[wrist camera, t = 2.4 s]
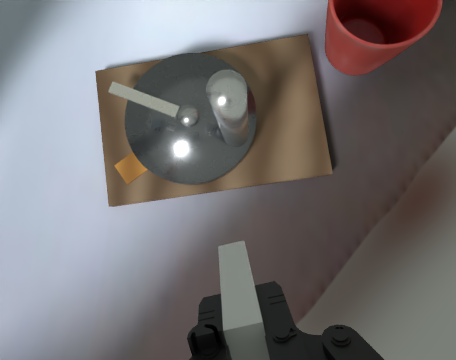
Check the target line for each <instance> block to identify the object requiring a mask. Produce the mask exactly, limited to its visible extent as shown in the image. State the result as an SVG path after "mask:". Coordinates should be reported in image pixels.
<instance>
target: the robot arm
mask: <svg viewBox="0 0 456 360" xmlns="http://www.w3.org/2000/svg"><path fill="white" fill-rule="evenodd" d="M218 248H219V266H220V284H221V294H218V295H213V296H209V297H204V298H203V299H202V301H201V303H200V304H199V313H198V314H199V315H198V325H197V326H195V327H194V328H192V330H191V331H190V332H189V334H188V337H187V340H188V343H189V347H190V350H191V353H192V357H191V358H190V359H189V360H384V359H383V358H382V357H381V356H380V355H379V354H378V353H377V352H376V351H375V350H374V349H373V348H372V347H371V346H370V345H369V344H368V343H367V342H366V341H365V340H364V339H363V338H362V337H361V336H360V335H359V334H358V333H357V332H356V331H355V330H353V329H352V328H351V327H348V326H345V325H334V326H330V327H328V328H327V329H325V330H324V332H323V334H322V335H311V334H307V333H304V332H302V331H300V330H299V329H298V328H297V327H296V326H295V324H294V321H293V318H292V316H291V313H290V310H289V307H288V305H287V302H286V299H285V296H284V294H283V291H282V288H281V286H280V285H278V284H277V283H276V282H275V281H273V282H269V283H264V284H260V285H255V286H254V281H253V277H252V273H251V268H250V264H249V260H248V255H247V251H246V246H245V242H244V241H240V242H235V243H231V244H226V245H222V246H218Z"/></svg>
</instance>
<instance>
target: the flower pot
mask: <svg viewBox="0 0 456 360" xmlns="http://www.w3.org/2000/svg"><path fill="white" fill-rule="evenodd" d="M442 3H443V0H328V7H327V19H326V33H325V52H326V56H327V58H328V60H329V62H330V63H331V64H332V65H333V66H334V67H335V68H336V69H338V70H339V71H340V72H342V73H345V74H349V75H363V74H366V73H369V72H371V71H373V70H375V69H376V68H378V67H380V66H381V65H383V64H384V63H386V62H388V61H389V60H391V59H392V58H394V57H395V56H397V55H398V54H400V53H401V52H403V51H404V50H405V49H407V48H408V47H410V46H411V45H413V44H414V43H415V42H417V41H418V40H419V39H421V38H422V37H423V36H424V35H426V34H427V33H428V32H429V31H430V30H431V28H432V27H433V26H434V24H435V23H436V21H437V19H438V17H439V15H440V12H441V8H442Z"/></svg>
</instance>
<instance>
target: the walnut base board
mask: <svg viewBox="0 0 456 360" xmlns="http://www.w3.org/2000/svg"><path fill="white" fill-rule="evenodd" d="M199 54H206V55H210V56H213V57H216V58H219V59H221V60H223V61H225V62H226V63H228V64H230V65H231V66H232V67H234V68H235V69H236V70H237V71H238V72H239V73H240V74H241V75H242V76H243V78H244V79H245V80H246V82H247V83H248V85H249V87H250V89H251V91H252V94H253V96H254V100H255V104H256V113H257V120H256V131H255V137H254V140H253V143H252V145H251V147H250V149H249V152H248V153H247V155H246V156H245V158H244V159H243V160H242V162H241V163H240V164H239V165H238V166H237V167H236V168H235V169H234V170H233V171H231V172H230V173H228V174H227V175H225V176H224V177H222V178H220V179H218V180H215V181H213V182H210V183H205V184H201V185H183V184H178V183H174V182H171V181H168V180H165V179H163V178H161V177H159V176H156V175H155V174H153V173H152V172H150V171H149V170H148V169H147V168H145V167H144V166H143V165H142V164H141V163H140V161H139V160H138V159H137V158H136V156H135V155H134V153H133V152H132V150H131V147H130V145H129V143H128V140H127V136H126V131H125V110H126V105H127V101H128V100H127V99H124V98H122V97H119V96H116V95H114V94H111V93H109V92H108V91H109V89H110V86H111V84H112V82H116V83H118V84H121V85H124V86H126V87H129V88H132V89H133V88H134V86H135V85H136V83H137V82H138V80H139V79H140V78H141V77H142V75H143V74H144V73H145V72H147V71H148V70H149V69H150V68H151V67H153V66H154V65H155V64H157V63H159V62H161V61H162V60H164V59H162V60H156V61H151V62H145V63H139V64H133V65H128V66H122V67H116V68H111V69H105V70H99V71H95V72H96V82H97V92H98V102H99V112H100V122H101V132H102V142H103V152H104V162H105V172H106V182H107V193H108V203H109V206H112V207H114V206H121V205H128V204H135V203H142V202H149V201H155V200H162V199H169V198H176V197H183V196H189V195H196V194H203V193H210V192H217V191H224V190H230V189H237V188H244V187H251V186H258V185H264V184H271V183H278V182H285V181H292V180H299V179H305V178H312V177H319V176H326V175H331V174H333V172H332V167H331V161H330V155H329V150H328V144H327V139H326V133H325V127H324V122H323V116H322V111H321V105H320V99H319V94H318V88H317V83H316V77H315V71H314V66H313V60H312V55H311V49H310V43H309V38H308V34H305V35H300V36H294V37H288V38H282V39H277V40H271V41H265V42H259V43H254V44H248V45H242V46H237V47H231V48H225V49H219V50H214V51H208V52H202V53H199Z"/></svg>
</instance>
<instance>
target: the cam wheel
mask: <svg viewBox="0 0 456 360" xmlns="http://www.w3.org/2000/svg"><path fill="white" fill-rule="evenodd" d="M108 92H109V93H111V94H114V95H116V96H119V97H122V98H124V99H127V100H128V101H127V105H126V110H125V131H126V136H127V140H128V143H129V145H130V147H131V150H132V152H133V153H134V155H135V156H136V158H137V159H138V160H139V161H140V163H141V164H142V165H143V166H144V167H145V168H147V169H148V170H149V171H150V172H152V173H153V174H155V175H156V176H159V177H161V178H163V179H165V180H168V181H171V182H174V183H178V184H183V185H201V184H205V183H210V182H213V181H215V180H218V179H220V178H222V177H224V176H225V175H227V174H228V173H230V172H231V171H233V170H234V169H235V168H236V167H237V166H238V165H239V164H240V163H241V162H242V160H243V159H244V158H245V156H246V155H247V153H248V152H249V149H250V147H251V145H252V143H253V140H254V137H255V131H256V120H257V113H256V104H255V100H254V96H253V94H252V91H251V89H250V87H249V85H248V83H247V82H246V80H245V79H244V78H243V76H242V75H241V74H240V73H239V72H238V71H237V70H236V69H235V68H234V67H232V66H231V65H230V64H228V63H226V62H225V61H223V60H221V59H219V58H216V57H213V56H210V55H206V54H199V53H187V54H180V55H176V56H172V57H169V58H167V59H164V60H162V61H161V62H159V63H157V64H155V65H154V66H153V67H151V68H150V69H149V70H148V71H147V72H145V73H144V74H143V75H142V77H141V78H140V79H139V80H138V82H137V83H136V85H135V86H134V88H133V89H132V88H129V87H126V86H124V85H121V84H118V83H116V82H112V84H111V86H110V89H109V91H108Z"/></svg>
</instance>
